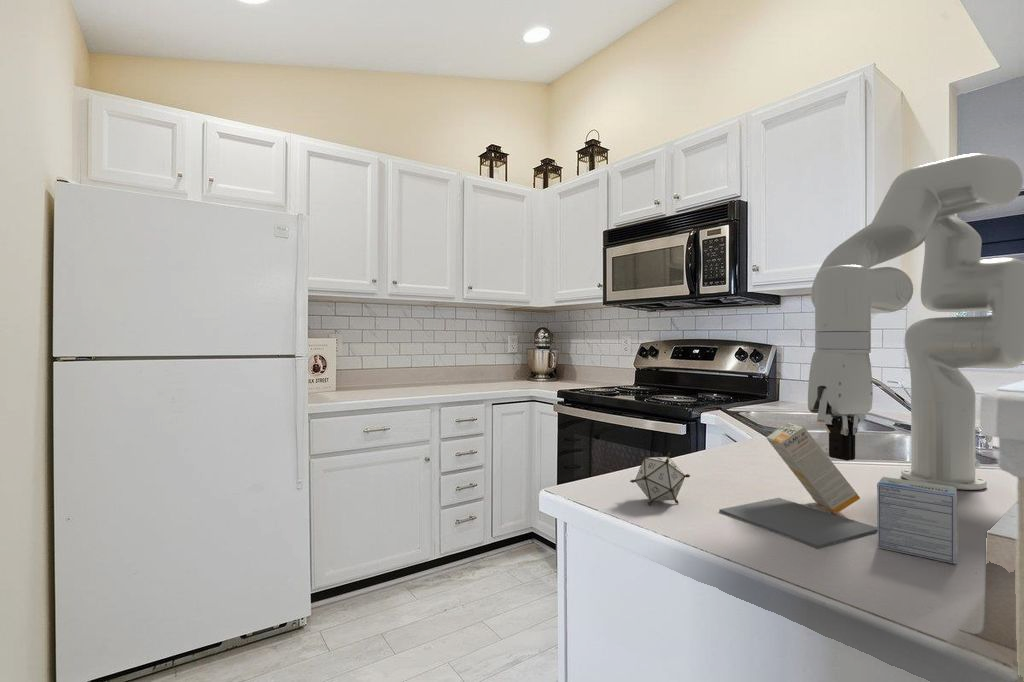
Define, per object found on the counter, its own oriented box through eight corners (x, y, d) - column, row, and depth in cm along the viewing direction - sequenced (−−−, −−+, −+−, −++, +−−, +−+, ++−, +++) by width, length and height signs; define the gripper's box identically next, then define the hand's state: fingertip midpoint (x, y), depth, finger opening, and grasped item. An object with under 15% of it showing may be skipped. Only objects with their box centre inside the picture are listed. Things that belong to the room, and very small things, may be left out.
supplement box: (863, 498, 78) (805, 426, 80) (835, 515, 78) (778, 443, 81) (840, 486, 86) (788, 421, 88) (814, 502, 86) (764, 437, 89)
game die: (647, 524, 86) (611, 473, 88) (674, 497, 91) (639, 450, 93) (683, 512, 79) (642, 457, 81) (710, 483, 84) (671, 432, 86)
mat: (778, 500, 87) (778, 497, 87) (880, 531, 73) (880, 528, 73) (719, 511, 81) (719, 509, 81) (818, 548, 67) (818, 545, 67)
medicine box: (957, 555, 65) (957, 486, 65) (956, 566, 62) (956, 494, 62) (881, 539, 70) (881, 475, 70) (876, 548, 67) (876, 482, 67)
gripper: (846, 343, 89) (846, 450, 89) (789, 343, 82) (789, 458, 82) (894, 344, 82) (894, 459, 82) (836, 343, 75) (836, 468, 75)
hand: (841, 458), depth 82 cm, fingers closed
